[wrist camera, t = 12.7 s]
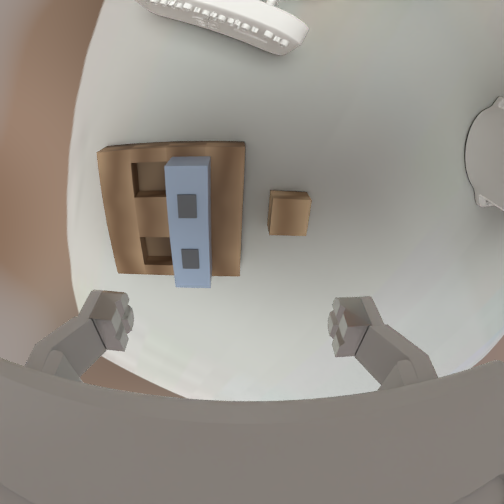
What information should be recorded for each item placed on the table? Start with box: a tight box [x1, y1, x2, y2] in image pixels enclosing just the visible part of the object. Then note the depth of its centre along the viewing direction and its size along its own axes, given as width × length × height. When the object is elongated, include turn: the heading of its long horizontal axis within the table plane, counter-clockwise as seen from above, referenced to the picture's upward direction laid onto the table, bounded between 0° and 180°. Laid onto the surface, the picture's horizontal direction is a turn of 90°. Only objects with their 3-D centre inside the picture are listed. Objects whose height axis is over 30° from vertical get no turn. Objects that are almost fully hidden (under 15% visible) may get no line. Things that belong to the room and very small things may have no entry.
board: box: [97, 141, 245, 276], centre depth 32 cm, size 16×16×3 cm
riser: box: [267, 190, 312, 236], centre depth 34 cm, size 4×5×2 cm
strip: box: [164, 156, 212, 288], centre depth 31 cm, size 4×14×5 cm, turn 177°
